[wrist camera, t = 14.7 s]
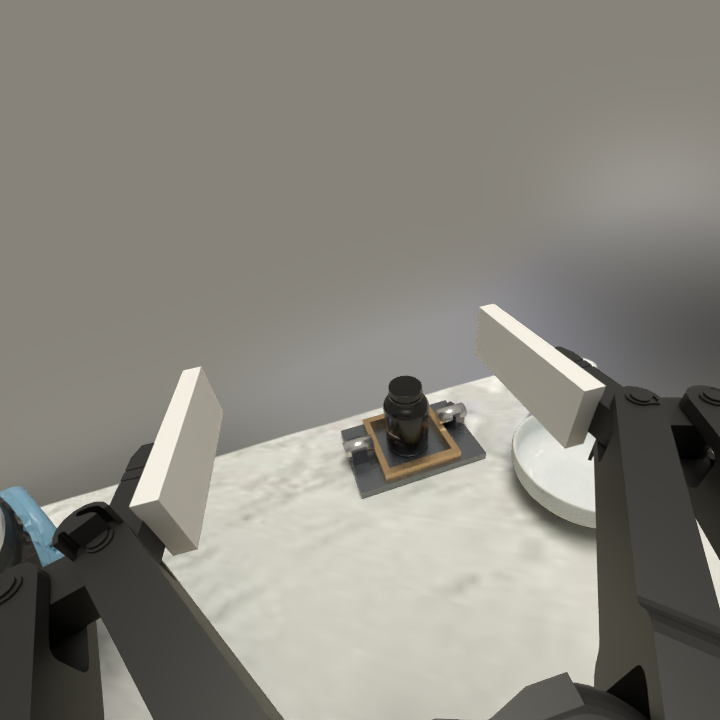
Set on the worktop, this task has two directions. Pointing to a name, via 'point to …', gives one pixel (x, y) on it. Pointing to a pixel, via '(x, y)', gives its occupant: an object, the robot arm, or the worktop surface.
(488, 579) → the worktop surface
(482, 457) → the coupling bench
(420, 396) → the supplement bottle
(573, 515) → the cereal bowl
